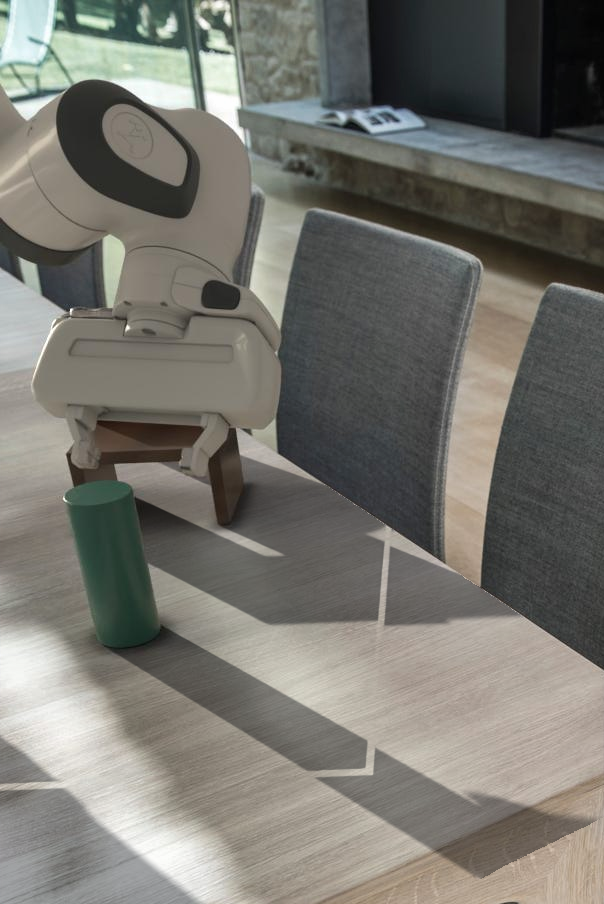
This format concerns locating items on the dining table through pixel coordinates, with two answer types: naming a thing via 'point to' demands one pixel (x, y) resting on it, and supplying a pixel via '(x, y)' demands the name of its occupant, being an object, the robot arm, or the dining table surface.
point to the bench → (163, 457)
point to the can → (113, 562)
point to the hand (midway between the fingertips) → (137, 469)
